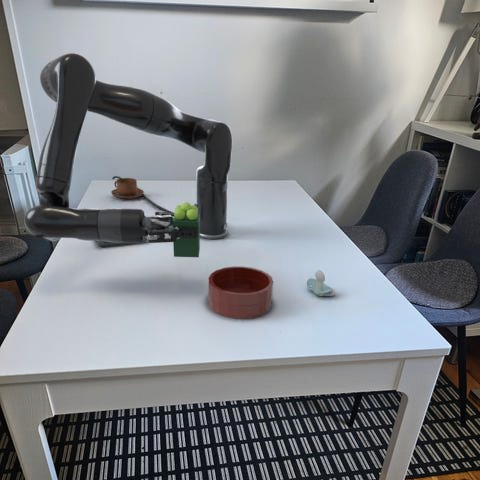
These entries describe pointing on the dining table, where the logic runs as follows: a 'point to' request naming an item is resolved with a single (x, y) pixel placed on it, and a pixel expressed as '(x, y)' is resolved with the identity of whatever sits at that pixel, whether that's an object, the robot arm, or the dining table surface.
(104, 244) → the cell phone
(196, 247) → the grapes
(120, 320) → the dining table surface
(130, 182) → the cup and saucer
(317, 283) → the pacifier
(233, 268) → the pot
